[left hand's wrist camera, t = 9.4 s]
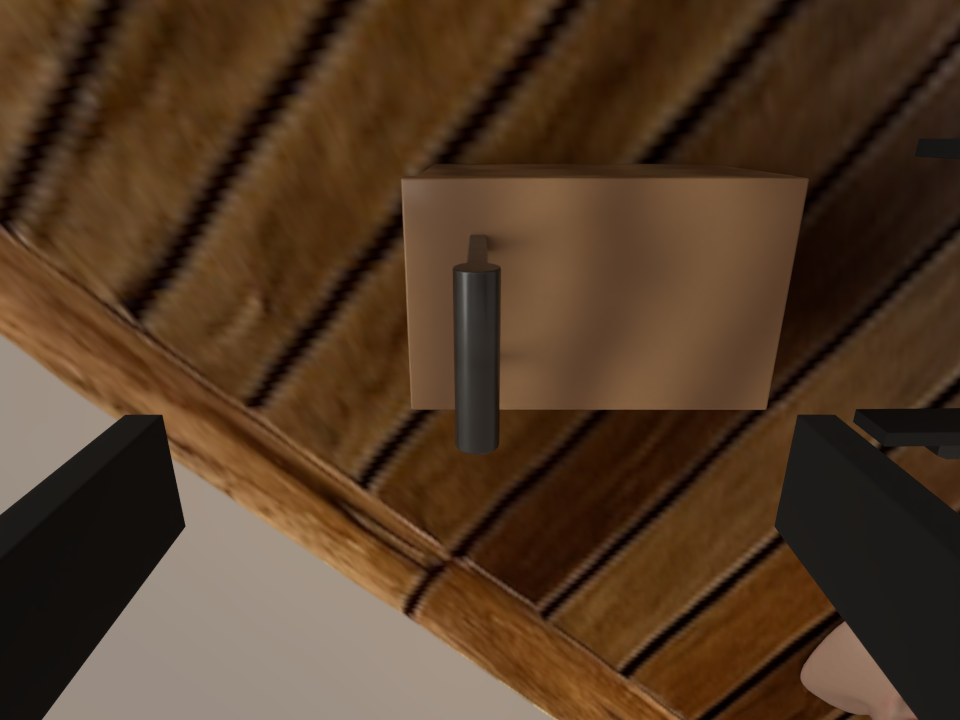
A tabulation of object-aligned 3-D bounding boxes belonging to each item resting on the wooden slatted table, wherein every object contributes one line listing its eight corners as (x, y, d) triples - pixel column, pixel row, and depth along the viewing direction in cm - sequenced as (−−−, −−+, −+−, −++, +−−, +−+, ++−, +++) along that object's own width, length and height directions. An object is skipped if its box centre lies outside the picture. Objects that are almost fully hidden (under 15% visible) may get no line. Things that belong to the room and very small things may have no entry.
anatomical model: (810, 750, 43) (874, 628, 39) (784, 701, 47) (840, 585, 43) (982, 772, 44) (1062, 655, 40) (943, 722, 48) (1013, 610, 44)
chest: (438, 335, 37) (424, 401, 28) (433, 163, 33) (416, 176, 24) (690, 335, 37) (758, 402, 28) (713, 164, 33) (799, 176, 24)
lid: (413, 402, 28) (386, 508, 20) (403, 176, 24) (366, 198, 16) (758, 402, 28) (868, 509, 20) (799, 176, 24) (952, 198, 16)
